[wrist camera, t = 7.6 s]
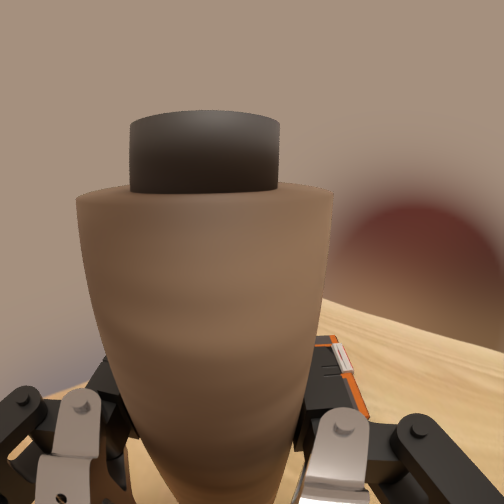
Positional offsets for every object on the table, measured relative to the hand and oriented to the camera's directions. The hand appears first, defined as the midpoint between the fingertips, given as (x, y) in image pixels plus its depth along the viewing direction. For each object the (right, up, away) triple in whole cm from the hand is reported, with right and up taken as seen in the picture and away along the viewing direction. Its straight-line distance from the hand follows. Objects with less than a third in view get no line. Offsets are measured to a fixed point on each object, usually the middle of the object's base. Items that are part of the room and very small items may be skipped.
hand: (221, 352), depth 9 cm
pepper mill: (0, -8, 0) cm, 7 cm away
